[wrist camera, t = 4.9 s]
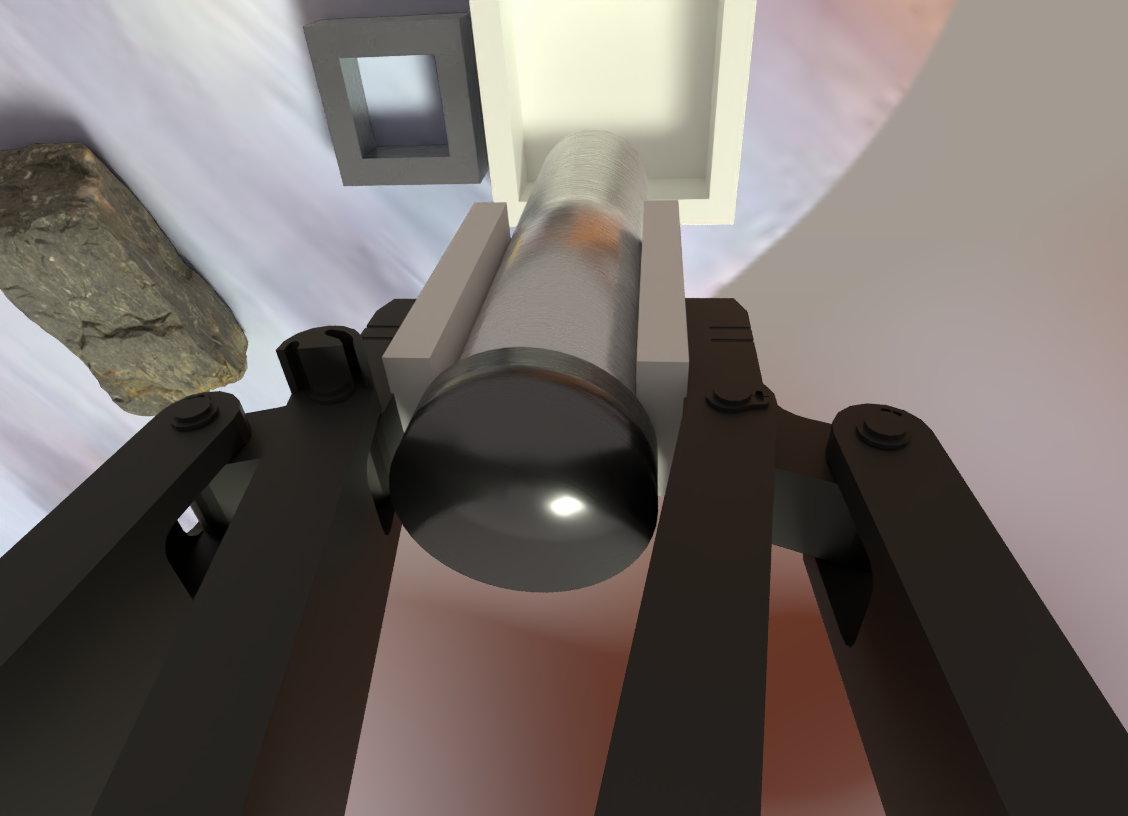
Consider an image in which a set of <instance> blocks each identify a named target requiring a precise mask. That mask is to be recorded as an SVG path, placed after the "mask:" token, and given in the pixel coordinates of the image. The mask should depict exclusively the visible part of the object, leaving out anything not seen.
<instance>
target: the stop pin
mask: <svg viewBox="0 0 1128 816" xmlns="http://www.w3.org/2000/svg"><path fill="white" fill-rule="evenodd" d="M647 189H648V182H647V173H646V169H645V166H644V163H643V161H642V159H641V157H640V156H639V154H638V153H637V151H636V150H635V149H634V148H633V146H632V145H631V144H629V143H628V142H627V141H626V140H624V139H623V138H621V137H620V136H618V135H616V134H614V133H611V132H608V131H603V130H583V131H579V132H576V133H573V134H571V135H569V136H567V137H565V138H564V139H562V140H561V141H560V142H558V143H557V144H556V145H555V146H554V147H553V148H552V150H551V151H550V152H549V154H548V155H547V157H546V159H545V161H544V163H543V166H542V168H541V170H540V173H539V175H538V177H537V180H536V182H535V184H534V187H533V189H532V191H531V194H530V196H529V198H528V201H527V203H526V205H525V208H524V210H523V212H522V215H521V217H520V219H519V222H518V224H517V226H516V229H515V231H514V233H513V236H512V238H511V240H510V243H509V245H508V247H507V250H506V252H505V254H504V257H503V259H502V261H501V264H500V266H499V268H498V271H497V273H496V275H495V278H494V280H493V282H492V285H491V287H490V289H489V292H488V294H487V296H486V299H485V301H484V303H483V306H482V308H481V310H480V313H479V315H478V317H477V320H476V322H475V324H474V327H473V329H472V331H471V334H470V336H469V338H468V341H467V343H466V345H465V348H464V350H463V352H462V355H461V357H460V359H459V361H458V362H456V363H455V364H453V365H452V366H450V367H448V368H447V369H445V370H444V371H443V372H442V373H441V374H440V375H438V376H437V377H436V378H435V379H434V380H433V381H432V383H431V384H430V385H429V386H428V387H427V389H426V390H425V392H424V394H423V396H422V397H421V399H420V401H419V403H418V405H417V407H416V409H415V411H414V414H413V416H412V418H411V420H410V422H409V424H408V426H407V428H406V431H405V433H404V435H403V437H402V439H401V441H400V443H399V445H398V447H397V450H396V452H395V454H394V457H393V460H392V463H391V466H390V473H389V490H390V495H391V500H392V503H393V506H394V509H395V511H396V514H397V516H398V517H399V519H400V521H401V523H402V524H403V526H404V527H405V529H406V530H407V531H408V533H409V534H410V535H411V537H412V538H413V539H414V540H415V541H416V542H417V543H418V544H419V545H420V546H421V547H422V548H423V549H424V550H425V551H427V552H428V553H429V554H430V555H431V556H433V557H435V558H436V559H437V560H439V561H440V562H441V563H443V564H444V565H446V566H448V567H450V568H451V569H453V570H455V571H457V572H459V573H461V574H463V575H465V576H468V577H470V578H472V579H475V580H477V581H480V582H483V583H486V584H489V585H493V586H497V587H501V588H506V589H511V590H517V591H526V592H561V591H569V590H575V589H580V588H584V587H588V586H592V585H595V584H597V583H600V582H602V581H605V580H607V579H609V578H611V577H613V576H615V575H617V574H619V573H620V572H622V571H623V570H624V569H626V568H627V567H629V566H630V565H631V564H632V563H633V562H634V561H635V560H636V559H638V558H639V556H640V555H641V554H642V553H643V551H644V550H645V549H646V548H647V546H648V544H649V542H650V540H651V538H652V536H653V533H654V530H655V527H656V523H657V515H658V446H657V439H656V434H655V430H654V427H653V425H652V422H651V420H650V417H649V416H648V414H647V412H646V411H645V409H644V407H643V406H642V404H641V403H640V402H639V400H638V399H637V398H636V369H637V342H638V321H639V299H640V278H641V257H642V235H643V214H644V200H647Z"/></svg>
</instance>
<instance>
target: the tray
mask: <svg viewBox="0 0 1128 816" xmlns="http://www.w3.org/2000/svg"><path fill="white" fill-rule="evenodd" d="M756 1H757V0H469V4H470V12H471V21H472V29H473V37H474V45H475V54H476V62H477V70H478V79H479V87H480V95H481V103H482V112H483V120H484V128H485V136H486V145H487V153H488V161H489V169H490V178H491V186H492V194H493V202H507V210H508V219H509V227H516V226H517V224H518V222H519V219H520V217H521V215H522V212H523V210H524V208H525V205H526V203H527V201H528V198H529V196H530V194H531V191H532V189H533V187H534V184H535V182H536V180H537V177H538V175H539V173H540V170H541V168H542V166H543V163H544V161H545V159H546V157H547V155H548V154H549V152H550V151H551V150H552V148H553V147H554V146H555V145H556V144H557V143H558V142H560V141H561V140H562V139H564V138H565V137H567V136H569V135H571V134H573V133H576V132H579V131H583V130H603V131H608V132H611V133H614V134H616V135H618V136H620V137H621V138H623V139H624V140H626V141H627V142H628V143H629V144H631V145H632V146H633V148H634V149H635V150H636V151H637V153H638V154H639V156H640V157H641V159H642V161H643V163H644V166H645V169H646V173H647V182H648V189H647V200H678V202H679V217H680V225H714V224H734V216H735V207H736V197H737V187H738V177H739V167H740V158H741V148H742V138H743V128H744V119H745V109H746V99H747V89H748V79H749V70H750V60H751V50H752V40H753V31H754V21H755V11H756Z"/></svg>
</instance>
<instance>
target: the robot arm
mask: <svg viewBox="0 0 1128 816" xmlns="http://www.w3.org/2000/svg"><path fill="white" fill-rule="evenodd" d="M510 240H511V237H510V228H509V219H508V210H507V202H491V203H474V204H473V206H472V208H471V209H470V211H469V213H468V214H467V216H466V218H465V219H464V221H463V223H462V224H461V226H460V228H459V229H458V231H457V233H456V234H455V236H454V238H453V239H452V241H451V243H450V244H449V246H448V248H447V250H446V251H445V253H444V255H443V256H442V258H441V260H440V261H439V263H438V265H437V266H436V268H435V270H434V271H433V273H432V275H431V276H430V278H429V280H428V281H427V283H426V285H425V286H424V288H423V290H422V291H421V293H420V295H419V296H418V298H417V299H394V300H392V301H391V302H389V303H388V304H386V305H385V306H383V307H382V308H380V309H379V310H377V311H376V312H375V314H374V315H373V317H372V318H371V320H370V321H369V323H368V324H367V328H365V329H364V330H363V332H362V333H361V335H360V334H359V333H358V332H357V331H356V330H354V329H351V328H348V327H345V326H324V327H318V328H312V329H309V330H306V331H303V332H300V333H298V334H295V335H294V336H292V337H290V338H289V339H287V340H285V341H284V342H283V343H282V344H281V345H280V346H279V347H278V348H277V349H276V353H277V355H278V358H279V361H280V363H281V366H282V369H283V372H284V374H285V377H286V380H287V382H288V385H289V388H290V390H291V393H292V394H291V396H290V399H289V401H288V403H287V405H286V406H283V407H279V408H273V409H268V410H262V411H256V412H251V413H245V412H244V410H243V408H242V405H241V403H240V401H239V400H238V399H237V398H236V397H235V396H234V395H233V394H230V393H226V392H221V391H217V392H202V393H197V394H193V395H189V396H186V397H185V398H183V399H181V400H179V401H177V402H174V403H172V404H171V405H169V406H168V407H166V408H165V409H164V410H162V411H161V412H159V413H158V414H157V415H156V416H155V417H154V418H153V419H152V420H151V421H150V422H148V423H147V424H146V425H145V426H144V427H143V428H142V429H141V430H140V431H139V432H138V433H136V434H135V435H134V436H133V437H132V438H131V439H130V440H129V441H128V442H127V443H126V444H124V445H123V446H122V447H121V448H120V449H119V450H118V451H117V452H116V453H115V454H114V455H112V456H111V457H110V458H109V459H108V460H107V461H106V462H105V463H104V464H103V465H101V466H100V467H99V468H98V469H97V470H96V471H95V472H94V473H93V474H92V475H91V476H89V477H88V478H87V479H86V480H85V481H84V482H83V483H82V484H81V485H80V486H79V487H77V488H76V489H75V490H74V491H73V492H72V493H71V494H70V495H69V496H68V497H67V498H65V499H64V500H63V501H62V502H61V503H60V504H59V505H58V506H57V507H56V508H55V509H53V510H52V511H51V512H50V513H49V514H48V515H47V516H46V517H45V518H44V519H43V520H41V521H40V522H39V523H38V524H37V525H36V526H35V527H34V528H33V529H32V530H31V531H29V532H28V533H27V534H26V535H25V536H24V537H23V538H22V539H21V540H20V541H19V542H17V543H16V544H15V545H14V546H13V547H12V548H11V549H10V550H9V551H8V552H6V553H5V554H4V555H3V556H2V557H1V558H0V816H344V815H345V809H346V804H347V799H348V795H349V790H350V784H351V779H352V774H353V769H354V764H355V759H356V754H357V749H358V744H359V739H360V734H361V729H362V723H363V719H364V714H365V708H366V703H367V698H368V693H369V688H370V683H371V678H372V673H373V668H374V663H375V658H376V653H377V648H378V643H379V638H380V633H381V628H382V622H383V618H384V612H385V607H386V602H387V597H388V591H389V587H390V582H391V577H392V572H393V567H394V562H395V557H396V551H397V546H398V541H399V537H400V531H401V526H402V523H401V521H400V519H399V517H398V516H397V514H396V511H395V509H394V506H393V503H392V500H391V495H390V490H389V473H390V466H391V463H392V460H393V457H394V454H395V452H396V450H397V447H398V445H399V443H400V441H401V439H402V437H403V435H404V433H405V431H406V428H407V426H408V424H409V422H410V420H411V418H412V416H413V414H414V411H415V409H416V407H417V405H418V403H419V401H420V399H421V397H422V396H423V394H424V392H425V390H426V389H427V387H428V386H429V385H430V384H431V383H432V381H433V380H434V379H435V378H436V377H437V376H438V375H440V374H441V373H442V372H443V371H444V370H445V369H447V368H448V367H450V366H452V365H453V364H455V363H456V362H458V361H459V359H460V357H461V355H462V352H463V350H464V348H465V345H466V343H467V341H468V338H469V336H470V334H471V331H472V329H473V327H474V324H475V322H476V320H477V317H478V315H479V313H480V310H481V308H482V306H483V303H484V301H485V299H486V296H487V294H488V292H489V289H490V287H491V285H492V282H493V280H494V278H495V275H496V273H497V271H498V268H499V266H500V264H501V261H502V259H503V257H504V254H505V252H506V250H507V247H508V245H509V243H510ZM636 398H637V399H638V400H639V402H640V403H641V404H642V406H643V407H644V409H645V411H646V412H647V414H648V416H649V417H650V420H651V422H652V425H653V427H654V430H655V434H656V439H657V446H658V496H664V501H663V506H662V510H661V515H660V519H659V524H658V528H657V533H656V537H655V542H654V546H653V551H652V556H651V561H650V565H649V569H648V574H647V578H646V583H645V587H644V592H643V597H642V601H641V606H640V610H639V615H638V619H637V624H636V628H635V633H634V637H633V642H632V647H631V651H630V655H629V660H628V665H627V669H626V674H625V678H624V683H623V687H622V692H621V696H620V701H619V706H618V710H617V715H616V719H615V724H614V728H613V733H612V737H611V742H610V746H609V751H608V755H607V760H606V765H605V769H604V774H603V778H602V783H601V788H600V792H599V797H598V801H597V805H596V810H595V815H594V816H761V791H762V767H763V742H764V718H765V692H766V669H767V645H768V643H767V642H768V619H769V596H770V595H769V594H770V572H771V571H770V570H771V547H772V544H774V545H777V546H780V547H784V548H787V549H790V550H794V551H797V552H800V553H803V561H804V564H805V567H806V570H807V573H808V576H809V579H810V582H811V585H812V588H813V591H814V595H815V598H816V601H817V604H818V607H819V610H820V613H821V616H822V619H823V622H824V625H825V628H826V632H827V634H828V638H829V641H830V644H831V647H832V650H833V653H834V656H835V660H836V663H837V666H838V669H839V672H840V675H841V678H842V681H843V684H844V687H845V690H846V693H847V696H848V700H849V703H850V706H851V709H852V712H853V715H854V718H855V721H856V724H857V728H858V731H859V733H860V737H861V740H862V743H863V746H864V749H865V752H866V755H867V758H868V762H869V765H870V768H871V771H872V774H873V777H874V780H875V783H876V786H877V789H878V792H879V795H880V798H881V802H882V805H883V808H884V811H885V814H886V816H1128V733H1127V731H1126V730H1125V728H1124V727H1123V725H1122V724H1121V722H1120V720H1119V719H1118V717H1117V716H1116V714H1115V713H1114V711H1113V710H1112V708H1111V707H1110V705H1109V704H1108V702H1107V700H1106V699H1105V697H1104V696H1103V695H1102V693H1101V691H1100V690H1099V688H1098V686H1097V685H1096V683H1095V682H1094V680H1093V679H1092V677H1091V676H1090V674H1089V673H1088V671H1087V669H1086V668H1085V666H1084V665H1083V663H1082V662H1081V660H1080V659H1079V657H1078V656H1077V654H1076V652H1075V651H1074V649H1073V648H1072V646H1071V645H1070V643H1069V642H1068V640H1067V638H1066V637H1065V635H1064V634H1063V632H1062V631H1061V629H1060V628H1059V626H1058V624H1057V623H1056V621H1055V620H1054V618H1053V617H1052V615H1051V614H1050V612H1049V611H1048V609H1047V607H1046V606H1045V605H1044V603H1043V601H1042V600H1041V598H1040V597H1039V595H1038V594H1037V592H1036V590H1035V589H1034V588H1033V586H1032V584H1031V583H1030V581H1029V580H1028V578H1027V577H1026V575H1025V573H1024V572H1023V570H1022V569H1021V567H1020V566H1019V564H1018V563H1017V561H1016V560H1015V558H1014V556H1013V555H1012V553H1011V552H1010V550H1009V549H1008V547H1007V546H1006V544H1005V542H1004V541H1003V539H1002V538H1001V536H1000V535H999V533H998V532H997V531H996V529H995V527H994V526H993V524H992V522H991V521H990V519H989V518H988V516H987V515H986V513H985V512H984V510H983V509H982V507H981V506H980V504H979V502H978V501H977V499H976V498H975V496H974V495H973V493H972V492H971V490H970V488H969V487H968V485H967V484H966V482H965V481H964V479H963V477H962V476H961V474H960V473H959V471H958V470H957V468H956V467H955V465H954V464H953V462H952V460H951V459H950V458H949V456H948V454H947V453H946V451H945V450H944V448H943V447H942V445H941V444H940V442H939V440H938V439H937V437H936V436H935V434H934V433H933V431H932V430H931V429H930V428H929V427H928V426H927V425H926V424H925V423H924V422H923V421H922V420H921V419H919V418H917V417H916V416H914V415H912V414H910V413H908V412H907V411H904V410H901V409H898V408H894V407H891V406H888V405H880V404H861V405H854V406H849V407H848V408H846V409H844V410H842V411H840V412H838V414H837V415H836V417H835V419H834V420H833V422H832V424H829V423H825V422H821V421H816V420H812V419H808V418H804V417H801V416H797V415H795V414H793V413H791V412H788V411H786V410H784V409H782V408H781V407H780V406H778V405H777V401H776V398H775V395H774V393H773V392H772V391H771V390H770V389H769V388H768V387H767V386H766V385H764V384H763V382H762V377H761V372H760V367H759V363H758V358H757V353H756V349H755V345H754V342H753V335H752V330H751V326H750V321H749V316H748V312H747V311H746V310H745V309H744V308H743V307H742V306H741V305H740V304H739V303H738V302H737V301H736V300H735V299H734V298H685V293H684V277H683V262H682V247H681V232H680V217H679V202H678V200H644V214H643V235H642V257H641V278H640V299H639V321H638V342H637V369H636ZM189 506H191V508H192V510H193V512H194V513H195V515H196V517H197V519H198V521H199V522H198V523H197V524H196V525H195V527H194V528H193V529H191V530H190V531H189V532H188V533H186V532H184V531H183V529H182V527H181V526H180V524H179V522H178V521H177V520H178V518H179V517H180V516H181V515H182V514H183V513H184V512H185V510H186V509H187V508H188V507H189Z"/></svg>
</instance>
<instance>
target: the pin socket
mask: <svg viewBox="0 0 1128 816" xmlns="http://www.w3.org/2000/svg"><path fill="white" fill-rule="evenodd" d="M303 29H304V33H305V37H306V41H307V44H308V48H309V52H310V56H311V60H312V64H313V68H314V72H315V76H316V80H317V84H318V88H319V92H320V95H321V99H322V103H323V107H324V111H325V115H326V119H327V123H328V127H329V131H330V135H331V139H332V143H333V146H334V150H335V154H336V158H337V162H338V166H339V170H340V174H341V178H342V182H343V186H372V185H426V184H480V183H481V182H482V180H483V178H484V177H485V175H486V173H487V172H488V162H487V154H486V146H485V138H484V130H483V121H482V113H481V105H480V97H479V89H478V80H477V72H476V64H475V56H474V48H473V39H472V31H471V23H470V15H469V12H466V13H446V14H426V15H406V16H386V17H366V18H347V19H327V20H319V21H316V22H314V23H311V24H308V25H305V26H303ZM428 54H434V55H435V61H436V68H437V74H438V81H439V87H440V94H441V100H442V107H443V113H444V120H445V126H446V133H447V139H448V145H424V146H385V147H376V145H375V140H374V136H373V131H372V127H371V122H370V117H369V113H368V108H367V104H366V99H365V94H364V90H363V85H362V81H361V76H360V72H359V67H358V62H357V58H358V57H381V56H405V55H428Z"/></svg>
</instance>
